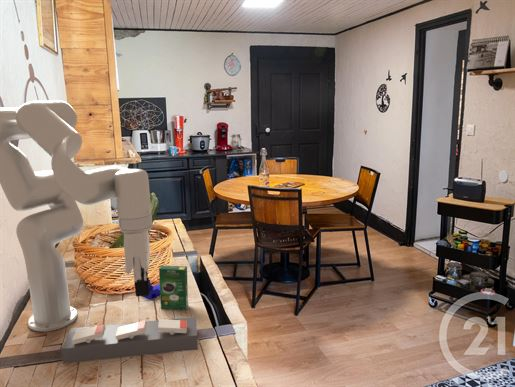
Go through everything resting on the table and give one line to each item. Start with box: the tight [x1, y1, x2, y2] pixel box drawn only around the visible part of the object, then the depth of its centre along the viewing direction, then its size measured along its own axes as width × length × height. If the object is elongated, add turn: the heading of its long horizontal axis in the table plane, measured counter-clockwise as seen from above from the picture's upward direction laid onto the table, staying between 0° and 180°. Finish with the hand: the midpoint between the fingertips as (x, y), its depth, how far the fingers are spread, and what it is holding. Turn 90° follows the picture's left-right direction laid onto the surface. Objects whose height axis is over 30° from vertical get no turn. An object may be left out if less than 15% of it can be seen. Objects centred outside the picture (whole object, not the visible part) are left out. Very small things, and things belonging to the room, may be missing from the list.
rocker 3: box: [158, 318, 187, 335], centre depth 108 cm, size 4×7×2 cm, turn 99°
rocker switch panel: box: [60, 316, 199, 364], centre depth 109 cm, size 9×32×4 cm, turn 99°
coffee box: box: [158, 264, 189, 311], centre depth 127 cm, size 8×3×13 cm, turn 86°
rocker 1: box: [72, 323, 106, 344], centre depth 105 cm, size 4×7×2 cm, turn 99°
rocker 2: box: [116, 319, 147, 340], centre depth 107 cm, size 4×7×2 cm, turn 99°
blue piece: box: [141, 279, 160, 301], centre depth 139 cm, size 12×4×6 cm, turn 142°
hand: (143, 294), depth 105 cm, fingers closed
